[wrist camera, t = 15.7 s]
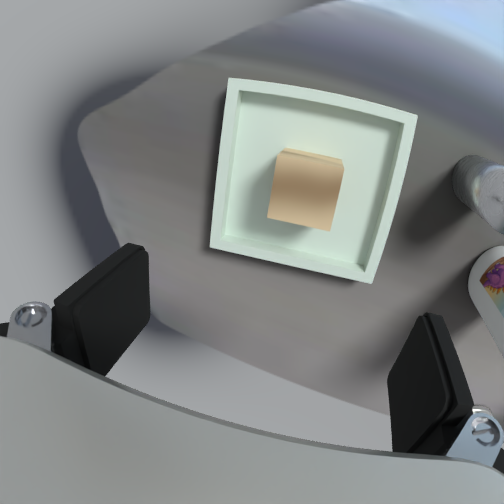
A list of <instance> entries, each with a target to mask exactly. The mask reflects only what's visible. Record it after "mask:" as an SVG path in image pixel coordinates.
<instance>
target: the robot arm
mask: <svg viewBox="0 0 504 504" xmlns="http://www.w3.org/2000/svg"><path fill="white" fill-rule="evenodd" d="M54 304H55V306H54V307H53V308H52V309H51V308H50V307H49V306H48V305H47V304H45V303H42V302H28V303H25V304H23V305H20V306H19V307H18V308H16V309H15V310H14V311H13V313H12V315H11V317H10V322H8V323H1V324H0V504H504V450H503V449H502V448H501V446H502V444H503V440H504V434H503V430H502V427H501V426H500V424H499V423H498V421H497V420H496V419H495V418H493V416H492V413H491V411H490V409H488V408H487V407H484V406H474V402H473V399H472V396H471V393H470V390H469V387H468V384H467V381H466V378H465V375H464V372H463V369H462V366H461V363H460V361H459V358H458V355H457V353H456V350H455V347H454V345H453V342H452V340H451V337H450V334H449V332H448V330H447V327H446V325H445V322H444V320H443V317H442V316H441V315H436V314H432V313H425V314H424V315H423V316H419V317H418V319H417V320H416V323H415V325H414V327H413V329H412V331H411V333H410V335H409V337H408V339H407V341H406V343H405V345H404V347H403V348H402V350H401V352H400V354H399V356H398V358H397V360H396V362H395V363H394V365H393V367H392V369H391V371H390V372H389V375H388V379H387V385H388V395H389V405H390V417H391V431H392V449H393V452H388V451H379V450H370V449H361V448H353V447H346V446H339V445H333V444H326V443H321V442H315V441H310V440H304V439H299V438H294V437H290V436H285V435H280V434H276V433H271V432H267V431H263V430H258V429H255V428H251V427H247V426H243V425H239V424H235V423H232V422H229V421H225V420H221V419H218V418H215V417H212V416H208V415H205V414H202V413H199V412H196V411H193V410H190V409H187V408H184V407H181V406H178V405H175V404H172V403H169V402H167V401H164V400H161V399H158V398H156V397H153V396H150V395H148V394H145V393H142V392H140V391H138V390H135V389H133V388H130V387H128V386H125V385H123V384H121V383H118V382H116V381H114V380H111V379H109V378H107V377H105V376H106V375H107V373H108V372H109V371H110V369H111V368H112V367H113V365H114V364H115V363H116V362H117V361H118V359H119V358H120V357H121V356H122V354H123V353H124V352H125V350H126V349H127V348H128V347H129V346H130V344H131V343H132V342H133V341H134V339H135V338H136V337H137V335H138V334H139V333H140V332H141V331H142V329H143V328H144V327H145V326H146V324H147V323H148V321H149V318H150V295H149V256H148V252H146V251H145V249H144V247H143V246H139V245H135V244H132V243H127V244H125V245H124V246H123V247H121V248H120V249H119V250H117V251H116V252H115V253H113V254H112V255H110V256H109V257H108V258H107V259H105V260H104V261H103V262H101V263H100V264H99V265H97V266H96V267H95V268H93V269H92V270H91V271H89V272H88V273H87V274H86V275H84V276H83V277H82V278H81V279H79V280H78V281H77V282H75V283H74V284H73V285H72V286H70V287H69V288H68V289H67V290H65V291H64V292H63V293H62V294H61V295H59V296H58V297H57V298H56V299H54Z"/></svg>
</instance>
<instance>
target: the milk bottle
mask: <svg viewBox="0 0 504 504" xmlns="http://www.w3.org/2000/svg"><path fill="white" fill-rule="evenodd" d="M468 290H469V295H470V297H471V299H472V301H473V303H474V305H475V306H476V308H477V310H478V312H479V313H480V315H481V317H482V319H483V320H484V322H485V324H486V326H487V328H488V330H489V331H490V333H491V335H492V337H493V339H494V341H495V343H496V344H497V346H498V348H499V350H500V352H501V354H502V356H503V357H504V246H496V247H493V248H490V249H489V250H487V251H486V252H484V253H483V254H482V255H481V256H480V257H479V258H478V259H477V261H476V262H475V264H474V265H473V267H472V270H471V272H470V275H469V281H468Z"/></svg>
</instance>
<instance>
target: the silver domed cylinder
mask: <svg viewBox="0 0 504 504" xmlns="http://www.w3.org/2000/svg"><path fill="white" fill-rule="evenodd" d="M452 186H453V190H454V192H455V194H456V196H457V197H458V198H459V200H461V201H462V202H463V203H464V204H466V205H467V206H468V207H469V208H471V209H472V210H473V211H474V212H475V213H477V214H478V215H479V216H480V217H481V218H483V219H484V220H485V221H486V222H487V223H488V224H490V225H491V226H492V227H493V228H494V229H495V230H496V231H498V232H499V233H501V234H504V166H503V165H501V164H498V163H496V162H493V161H491V160H488V159H486V158H483V157H481V156H478V155H468V156H465V157H463V158H462V159H461V160H460V161H459V162H458V163H457V164H456V166H455V168H454V171H453V174H452Z"/></svg>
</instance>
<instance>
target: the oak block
mask: <svg viewBox="0 0 504 504" xmlns="http://www.w3.org/2000/svg"><path fill="white" fill-rule="evenodd" d="M343 173H344V166H343V163H342V159H338V158H334V157H329V156H325V155H320V154H315V153H311V152H306V151H301V150H296V149H291V148H284V149H283V150H282V151H281V152H280V153H279V154H278V155H277V159H276V166H275V172H274V178H273V184H272V190H271V196H270V202H269V208H268V214H267V218H271V219H275V220H280V221H285V222H289V223H294V224H298V225H303V226H307V227H312V228H316V229H321V230H325V231H329V232H330V230H331V225H332V221H333V217H334V213H335V209H336V205H337V200H338V196H339V192H340V187H341V183H342V178H343Z"/></svg>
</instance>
